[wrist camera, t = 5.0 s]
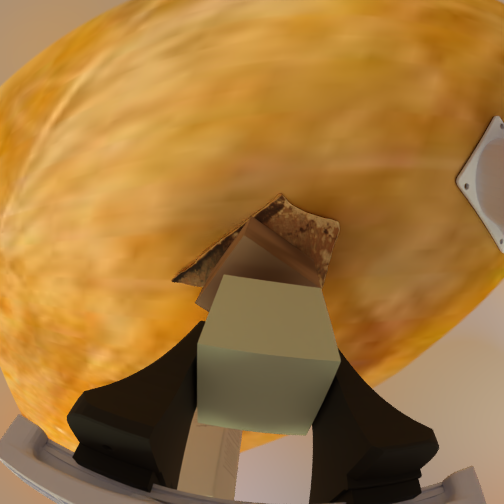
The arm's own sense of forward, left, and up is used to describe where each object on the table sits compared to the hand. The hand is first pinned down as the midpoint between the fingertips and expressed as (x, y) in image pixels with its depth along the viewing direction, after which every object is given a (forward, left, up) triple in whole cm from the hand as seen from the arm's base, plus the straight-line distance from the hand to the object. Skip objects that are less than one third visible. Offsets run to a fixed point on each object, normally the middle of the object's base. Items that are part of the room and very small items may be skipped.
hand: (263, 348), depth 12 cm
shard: (0, 0, -10) cm, 10 cm away
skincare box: (-5, +16, -9) cm, 19 cm away
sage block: (0, 0, -2) cm, 2 cm away
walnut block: (+1, 0, -8) cm, 8 cm away
